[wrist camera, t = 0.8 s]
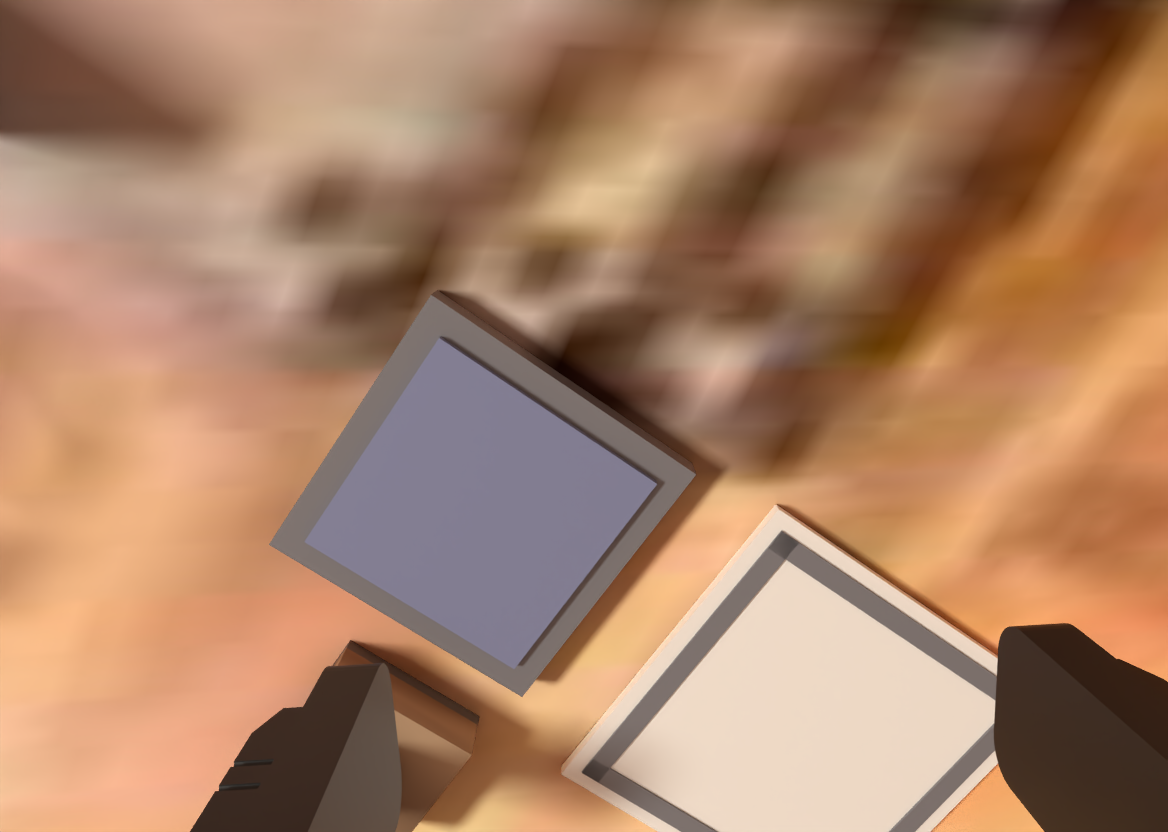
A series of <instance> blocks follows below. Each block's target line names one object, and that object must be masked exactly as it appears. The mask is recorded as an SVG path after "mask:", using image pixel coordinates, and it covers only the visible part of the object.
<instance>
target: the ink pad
mask: <svg viewBox="0 0 1168 832" xmlns="http://www.w3.org/2000/svg"><path fill="white" fill-rule="evenodd" d="M695 476H696V472H695V470H694V467H693V464H692V463H691V462H690V461H688V460H687V459H685V458H684V457H682V456H681V455H679V454H678V453H676V452H675V451H673V450H672V449H670V448H669V447H668V446H666V445H665V444H663V443H662V442H660V441H659V440H657V439H656V438H654V437H653V436H651V435H650V434H648V433H647V432H645V431H644V430H643V429H641V428H640V427H638V426H637V425H635V424H634V423H632V422H631V421H629V420H628V419H626V418H625V417H623V416H622V415H620V414H619V413H618V412H616V411H615V410H613V409H612V408H610V407H609V406H607V405H606V404H604V403H603V402H601V401H600V400H598V399H597V398H595V397H594V396H593V395H591V394H590V393H588V392H587V391H585V390H584V389H582V388H581V387H579V386H578V385H576V384H575V383H573V382H572V381H570V380H569V379H567V378H566V377H565V376H563V375H562V374H560V373H559V372H557V371H556V370H554V369H553V368H551V367H550V366H548V365H547V364H545V363H544V362H542V361H541V360H540V359H538V358H537V357H535V356H534V355H532V354H531V353H529V352H528V351H526V350H525V349H523V348H522V347H520V346H519V345H517V344H516V343H515V342H513V341H512V340H510V339H509V338H507V337H506V336H504V335H503V334H501V333H500V332H498V331H497V330H495V329H494V328H492V327H491V326H490V325H488V324H487V323H485V322H484V321H482V320H481V319H479V318H478V317H476V316H475V315H473V314H472V313H470V312H469V311H467V310H466V309H465V308H463V307H462V306H460V305H459V304H457V303H456V302H454V301H453V300H451V299H450V298H448V297H447V296H445V295H444V294H442V293H441V292H439V291H438V290H437V291H436V292H434V293H433V294H432V295H431V296H430V298H429V299H428V301H427V302H426V304H425V305H424V307H423V308H422V310H421V311H420V313H419V314H418V316H417V318H416V319H415V321H414V322H413V324H412V325H411V327H410V328H409V330H408V331H407V333H406V334H405V336H404V338H403V339H402V341H401V342H400V344H399V345H398V347H397V348H396V350H395V351H394V353H393V354H392V356H391V358H390V359H389V361H388V362H387V364H386V365H385V367H384V368H383V370H382V371H381V373H380V374H379V376H378V378H377V379H376V381H375V382H374V384H373V385H372V387H371V388H370V390H369V391H368V393H367V395H366V396H365V398H364V399H363V401H362V402H361V404H360V405H359V407H358V408H357V410H356V411H355V413H354V415H353V416H352V418H351V419H350V421H349V422H348V424H347V425H346V427H345V428H344V430H343V431H342V433H341V435H340V436H339V438H338V439H337V441H336V442H335V444H334V445H333V447H332V448H331V450H330V451H329V453H328V455H327V456H326V458H325V459H324V461H323V462H322V464H321V465H320V467H319V468H318V470H317V471H316V473H315V475H314V476H313V478H312V479H311V481H310V482H309V484H308V485H307V487H306V488H305V490H304V492H303V493H302V495H301V496H300V498H299V499H298V501H297V502H296V504H295V505H294V507H293V508H292V510H291V512H290V513H289V515H288V516H287V518H286V519H285V521H284V522H283V524H282V525H281V527H280V528H279V530H278V532H277V533H276V535H275V536H274V538H273V539H272V541H271V542H270V544H269V545H270V546H272V547H274V548H275V549H277V550H279V551H280V552H282V553H284V554H285V555H287V556H289V557H290V558H292V559H294V560H295V561H297V562H299V563H300V564H302V565H304V566H305V567H307V568H309V569H310V570H312V571H314V572H315V573H317V574H319V575H320V576H322V577H324V578H325V579H327V580H329V581H330V582H332V583H334V584H335V585H337V586H339V587H340V588H342V589H344V590H345V591H347V592H349V593H350V594H352V595H353V596H355V597H357V598H358V599H360V600H362V601H363V602H365V603H367V604H368V605H370V606H372V607H373V608H375V609H377V610H378V611H380V612H382V613H383V614H385V615H387V616H388V617H390V618H392V619H393V620H395V621H397V622H398V623H400V624H402V625H403V626H405V627H407V628H408V629H410V630H412V631H413V632H415V633H417V634H418V635H420V636H422V637H423V638H425V639H427V640H428V641H430V642H432V643H433V644H435V645H437V646H438V647H440V648H442V649H443V650H445V651H447V652H448V653H450V654H452V655H453V656H455V657H456V658H458V659H460V660H461V661H463V662H465V663H466V664H468V665H470V666H471V667H473V668H475V669H476V670H478V671H480V672H481V673H483V674H485V675H486V676H488V677H490V678H491V679H493V680H495V681H496V682H498V683H500V684H501V685H503V686H505V687H506V688H508V689H510V690H511V691H513V692H515V693H516V694H518V695H520V696H521V697H523V695H524V694H525V693H526V691H527V690H528V689H529V688H530V686H531V685H532V684H533V682H534V681H535V680H536V679H537V677H538V676H539V675H540V674H541V672H542V671H543V670H544V668H545V667H546V666H547V665H548V663H549V662H550V661H551V659H552V658H553V657H554V656H555V654H556V653H557V652H558V651H559V649H560V648H561V647H562V645H563V644H564V643H565V642H566V640H567V639H568V638H569V636H570V635H571V634H572V633H573V631H574V630H575V629H576V628H577V626H578V625H579V624H580V622H581V621H582V620H583V619H584V617H585V616H586V615H587V614H588V612H589V611H590V610H591V608H592V607H593V606H594V605H595V603H596V602H597V601H598V599H599V598H600V597H601V596H602V594H603V593H604V592H605V591H606V589H607V588H608V587H609V585H610V584H611V583H612V582H613V580H614V579H615V578H616V576H617V575H618V574H619V573H620V571H621V570H622V569H623V568H624V566H625V565H626V564H627V562H628V561H629V560H630V559H631V557H632V556H633V555H634V553H635V552H636V551H637V550H638V548H639V547H640V546H641V545H642V543H643V542H644V541H645V539H646V538H647V537H648V536H649V534H650V533H651V532H652V530H653V529H654V528H655V527H656V525H657V524H658V523H659V522H660V520H661V519H662V518H663V516H664V515H665V514H666V513H667V511H668V510H669V509H670V507H671V506H672V505H673V504H674V502H675V501H676V500H677V499H678V497H679V496H680V495H681V493H682V492H683V491H684V490H685V488H686V487H687V486H688V484H689V483H690V482H691V481H692V479H693V478H694V477H695Z"/></svg>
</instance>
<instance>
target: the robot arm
mask: <svg viewBox="0 0 1168 832" xmlns="http://www.w3.org/2000/svg"><path fill="white" fill-rule="evenodd" d="M994 746H995V752H996V757H997V761H998V764H999V767H1000V770H1001V772H1002V775H1003V777H1004V779H1005V781H1006V782H1007V784H1008V786H1009V787H1010V789H1011V790H1012V791H1013V792H1014V794H1015V795H1016V796H1017V798H1018V799H1019V800H1020V801H1021V803H1022V804H1023V805H1024V806H1025V808H1026V809H1027V810H1028V811H1029V813H1030V814H1031V815H1032V816H1033V818H1034V819H1035V820H1036V821H1037V823H1038V824H1039V825H1040V827H1041V828H1042V829H1043V830H1044V832H1168V682H1167V681H1165V680H1164V679H1162V678H1160V677H1158V676H1155V675H1153V674H1151V673H1149V672H1147V671H1144V670H1142V669H1140V668H1138V667H1136V666H1133V665H1131V664H1129V663H1127V662H1125V661H1123V660H1120V659H1116V658H1114V657H1113V656H1112V655H1111V654H1109V653H1108V652H1107V651H1105V650H1104V649H1103V648H1102V647H1100V646H1099V645H1098V644H1096V643H1095V642H1094V641H1093V640H1091V639H1090V638H1089V637H1088V636H1086V635H1085V634H1084V633H1082V632H1081V631H1080V630H1079V629H1077V628H1076V627H1074V626H1073V625H1071V624H1068V623H1061V624H1045V625H1028V626H1012V627H1007V628H1006V629H1005V630H1004V631H1003V632H1002V634H1001V637H1000V640H999V646H998V662H997V681H996V699H995V717H994ZM401 795H402V775H401V764H400V755H399V746H398V738H397V729H396V721H395V712H394V703H393V695H392V686H391V679H390V674H389V670H388V668H387V666H386V664H384V663H376V664H360V665H343V666H328V667H326V668H325V669H324V671H323V672H322V674H321V676H320V678H319V679H318V681H317V683H316V685H315V687H314V688H313V690H312V692H311V694H310V696H309V697H308V699H307V701H306V703H305V705H304V706H303V707H296V708H283V709H282V710H281V711H279V712H278V713H277V714H276V715H274V716H273V717H272V718H270V719H269V720H268V721H267V722H265V723H264V724H263V725H262V726H260V727H259V728H258V729H257V730H255V731H254V732H253V733H252V734H251V735H250V737H249V739H248V740H247V742H246V743H245V745H244V747H243V748H242V750H241V751H240V753H239V755H238V756H237V758H236V759H235V761H234V767H230V769H229V770H228V772H227V774H226V775H225V777H224V778H223V780H222V782H221V783H220V785H219V791H215V793H214V794H213V796H212V797H211V799H210V801H209V802H208V804H207V805H206V807H205V809H204V810H203V812H202V813H201V815H200V817H199V818H198V820H197V821H196V823H195V825H194V826H193V828H192V829H191V831H190V832H395V831H396V828H397V824H398V820H399V815H400V808H401Z"/></svg>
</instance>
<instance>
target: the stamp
mask: <svg viewBox="0 0 1168 832" xmlns="http://www.w3.org/2000/svg"><path fill="white" fill-rule="evenodd" d="M376 663H384V664H386V666H387V668H388V670H389V674H390V679H391V686H392V695H393V703H394V712H395V721H396V729H397V738H398V746H399V755H400V764H401V775H402V795H401V808H400V815H399V820H398V824H397V828H396V831H395V832H412V831H413V830H414V829H415V827H416V826H417V825H418V823H419V822H420V821H421V820H422V818H423V817H424V816H425V814H426V813H427V812H428V811H429V809H430V808H431V807H432V805H433V804H434V803H435V802H436V800H437V799H438V798H439V796H440V795H441V794H442V793H443V791H444V790H445V789H446V788H447V786H448V785H449V784H450V782H451V781H452V780H453V779H454V777H455V776H456V775H457V773H458V772H459V771H460V770H461V768H462V767H463V766H464V764H465V763H466V762H467V761H468V759H469V758H470V757H471V756H472V752H473V746H474V741H475V736H476V731H477V726H478V721H479V716H478V715H476V714H474V713H473V712H471V711H469V710H468V709H466V708H464V707H462V706H461V705H459V704H457V703H456V702H454V701H452V700H451V699H449V698H447V697H446V696H444V695H442V694H440V693H439V692H437V691H435V690H434V689H432V688H430V687H429V686H427V685H425V684H424V683H422V682H420V681H419V680H417V679H415V678H413V677H412V676H410V675H408V674H407V673H405V672H403V671H402V670H400V669H398V668H397V667H395V666H393V665H392V664H390V663H388V662H386V661H385V660H383V659H381V658H380V657H378V656H376V655H375V654H373V653H371V652H370V651H368V650H366V649H364V648H363V647H361V646H359V645H358V644H356V643H354V642H353V641H351V640H350V642H349V643H348V644H347V646H346V647H345V649H344V650H343V652H342V653H341V654H340V656H339V657H338V659H337V660H336V661H335V663H334V664H333V666H343V665H360V664H376Z"/></svg>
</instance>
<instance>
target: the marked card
mask: <svg viewBox="0 0 1168 832" xmlns="http://www.w3.org/2000/svg"><path fill="white" fill-rule="evenodd" d="M997 662H998V656H997V655H996V654H994V653H993V652H991V651H990V650H989V649H987V648H986V647H984V646H983V645H981V644H980V643H978V642H977V641H975V640H974V639H972V638H971V637H970V636H968V635H967V634H965V633H964V632H962V631H961V630H959V629H958V628H956V627H955V626H953V625H952V624H950V623H949V622H948V621H946V620H945V619H943V618H942V617H940V616H939V615H937V614H936V613H934V612H933V611H931V610H930V609H929V608H927V607H926V606H924V605H923V604H921V603H920V602H918V601H917V600H915V599H914V598H912V597H911V596H910V595H908V594H907V593H905V592H904V591H902V590H901V589H899V588H898V587H896V586H895V585H893V584H892V583H891V582H889V581H888V580H886V579H885V578H883V577H882V576H880V575H879V574H877V573H876V572H874V571H873V570H871V569H870V568H869V567H867V566H866V565H864V564H863V563H861V562H860V561H858V560H857V559H855V558H854V557H852V556H851V555H850V554H848V553H847V552H845V551H844V550H842V549H841V548H839V547H838V546H836V545H835V544H833V543H832V542H831V541H829V540H828V539H826V538H825V537H823V536H822V535H820V534H819V533H817V532H816V531H814V530H813V529H811V528H810V527H809V526H807V525H806V524H804V523H803V522H801V521H800V520H798V519H797V518H795V517H794V516H792V515H791V514H790V513H788V512H787V511H785V510H784V509H782V508H781V507H779V506H778V505H775V506H774V507H773V508H772V509H771V511H770V512H769V513H768V514H767V516H766V517H765V518H764V519H763V520H762V522H761V523H760V524H759V525H758V527H757V528H756V529H755V530H754V531H753V533H752V534H751V535H750V536H749V538H748V539H747V540H746V541H745V542H744V544H743V545H742V546H741V547H740V549H739V550H738V551H737V552H736V553H735V555H734V556H733V557H732V558H731V559H730V561H729V562H728V563H727V564H726V566H725V567H724V568H723V569H722V570H721V572H720V573H719V574H718V575H717V577H716V578H715V579H714V580H713V581H712V583H711V584H710V585H709V586H708V588H707V589H706V590H705V591H704V592H703V594H702V595H701V596H700V597H699V599H698V600H697V601H696V602H695V603H694V605H693V606H692V607H691V608H690V610H689V611H688V612H687V613H686V614H685V616H684V617H683V618H682V619H681V621H680V622H679V623H678V624H677V625H676V627H675V628H674V629H673V630H672V632H671V633H670V634H669V635H668V636H667V638H666V639H665V640H664V641H663V643H662V644H661V645H660V646H659V647H658V649H657V650H656V651H655V652H654V653H653V655H652V656H651V657H650V658H649V660H648V661H647V662H646V663H645V664H644V666H643V667H642V668H641V669H640V671H639V672H638V673H637V674H636V675H635V677H634V678H633V679H632V680H631V682H630V683H629V684H628V685H627V686H626V688H625V689H624V690H623V691H622V693H621V694H620V695H619V696H618V697H617V699H616V700H615V701H614V702H613V704H612V705H611V706H610V707H609V708H608V710H607V711H606V712H605V713H604V715H603V716H602V717H601V718H600V719H599V721H598V722H597V723H596V724H595V726H594V727H593V728H592V729H591V730H590V732H589V733H588V734H587V735H586V736H585V738H584V739H583V740H582V741H581V743H580V744H579V745H578V746H577V747H576V749H575V750H574V751H573V752H572V754H571V755H570V756H569V757H568V758H567V760H566V761H565V762H564V763H563V765H562V766H561V775H563V776H565V777H566V778H568V779H570V780H572V781H573V782H575V783H577V784H578V785H580V786H582V787H583V788H585V789H587V790H589V791H590V792H592V793H594V794H595V795H597V796H599V797H600V798H602V799H604V800H605V801H607V802H609V803H611V804H612V805H614V806H616V807H617V808H619V809H621V810H622V811H624V812H626V813H627V814H629V815H631V816H633V817H634V818H636V819H638V820H639V821H641V822H643V823H644V824H646V825H648V826H650V827H651V828H653V829H655V830H656V831H658V832H930V831H931V830H932V829H933V828H934V827H935V826H936V825H937V824H938V823H939V822H940V821H941V820H942V819H943V818H944V817H945V816H946V815H947V814H948V813H949V812H950V811H951V810H952V809H953V808H954V807H955V806H956V805H957V804H958V803H959V802H960V801H961V800H962V799H963V798H964V797H965V796H966V795H967V794H968V793H969V792H970V791H971V790H972V789H973V788H974V787H975V786H976V785H977V784H978V783H979V782H980V781H981V780H982V779H983V778H984V777H985V776H986V775H987V774H988V773H989V772H990V771H991V770H992V769H993V768H994V767H995V766H996V765H997V764H998V761H997V757H996V752H995V746H994V717H995V699H996V681H997Z"/></svg>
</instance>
